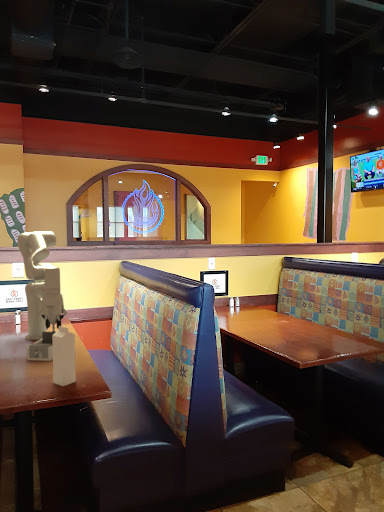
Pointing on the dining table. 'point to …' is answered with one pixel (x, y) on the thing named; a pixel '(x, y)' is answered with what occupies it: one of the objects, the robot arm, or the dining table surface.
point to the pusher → (46, 339)
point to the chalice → (52, 317)
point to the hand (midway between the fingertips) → (53, 327)
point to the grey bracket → (43, 355)
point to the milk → (63, 357)
